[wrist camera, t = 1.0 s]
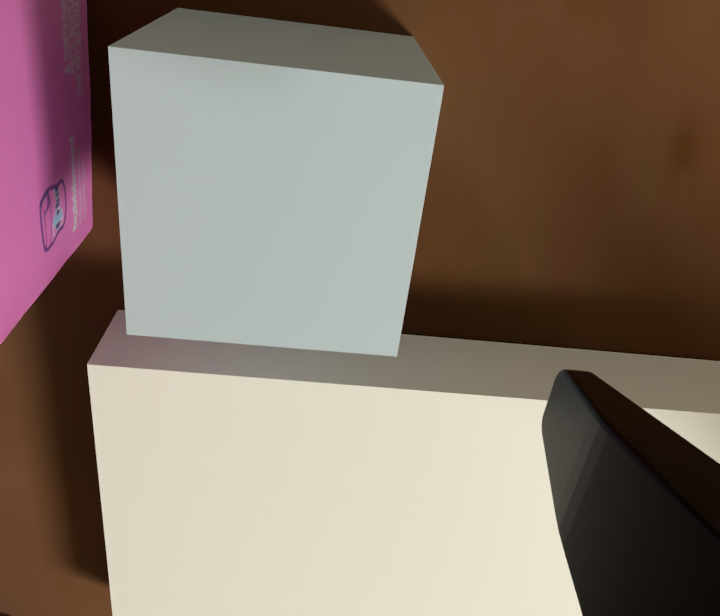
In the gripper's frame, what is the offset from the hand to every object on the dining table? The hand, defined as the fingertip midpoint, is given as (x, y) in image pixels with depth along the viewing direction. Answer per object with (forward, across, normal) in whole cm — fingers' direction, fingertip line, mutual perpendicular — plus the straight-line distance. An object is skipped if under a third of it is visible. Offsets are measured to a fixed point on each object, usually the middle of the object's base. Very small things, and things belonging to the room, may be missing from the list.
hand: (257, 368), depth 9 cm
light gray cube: (+11, 0, 0) cm, 11 cm away
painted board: (+11, -5, +13) cm, 18 cm away
